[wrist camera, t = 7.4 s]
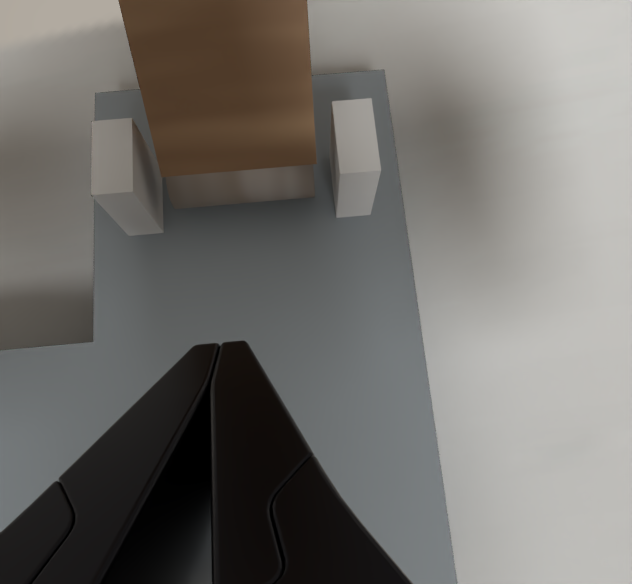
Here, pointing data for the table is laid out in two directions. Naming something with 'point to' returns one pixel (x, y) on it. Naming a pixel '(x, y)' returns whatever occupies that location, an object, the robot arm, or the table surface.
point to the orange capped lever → (226, 97)
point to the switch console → (253, 319)
